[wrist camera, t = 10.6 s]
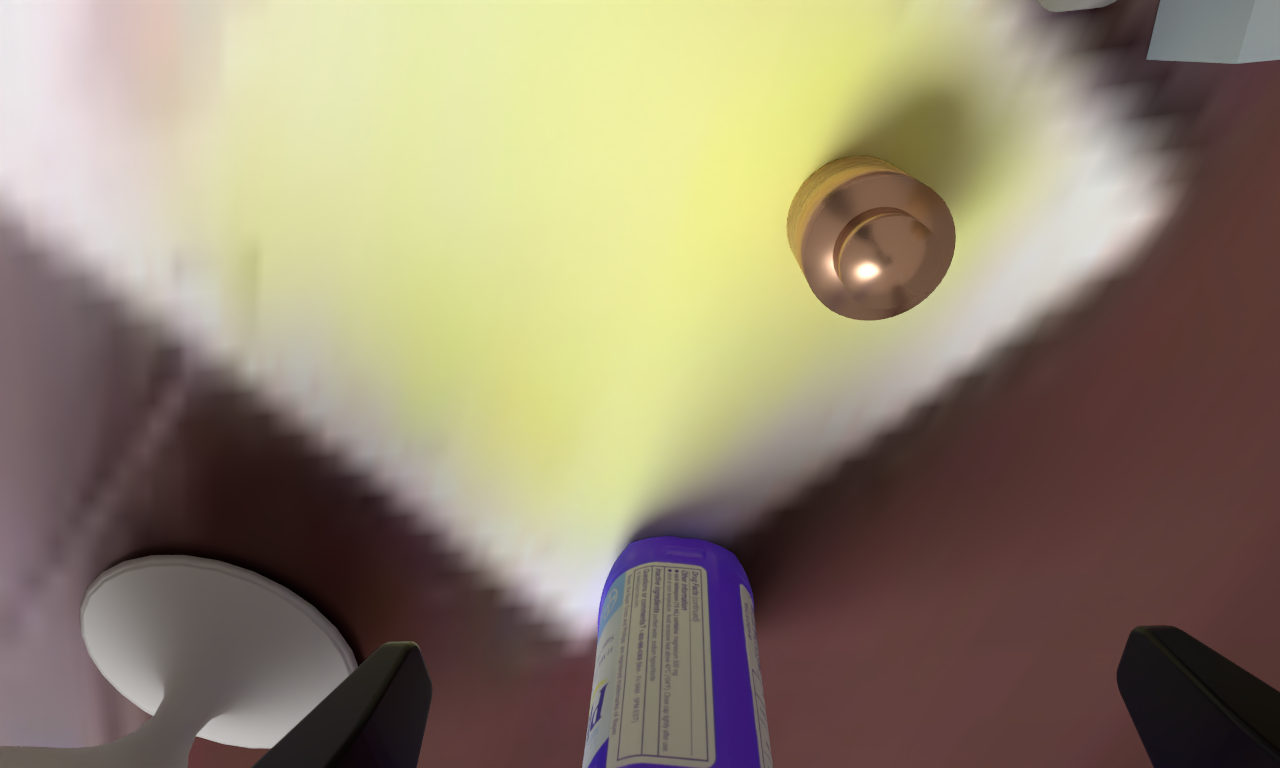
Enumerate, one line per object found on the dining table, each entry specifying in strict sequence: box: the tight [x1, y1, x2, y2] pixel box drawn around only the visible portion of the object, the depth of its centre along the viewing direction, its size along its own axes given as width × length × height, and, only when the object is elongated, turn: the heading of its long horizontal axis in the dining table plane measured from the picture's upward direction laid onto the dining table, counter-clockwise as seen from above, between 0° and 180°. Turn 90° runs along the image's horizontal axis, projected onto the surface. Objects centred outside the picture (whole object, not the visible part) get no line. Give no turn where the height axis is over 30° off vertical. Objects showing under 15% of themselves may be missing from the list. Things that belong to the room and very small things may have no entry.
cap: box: [787, 156, 956, 320], centre depth 17 cm, size 4×4×4 cm
